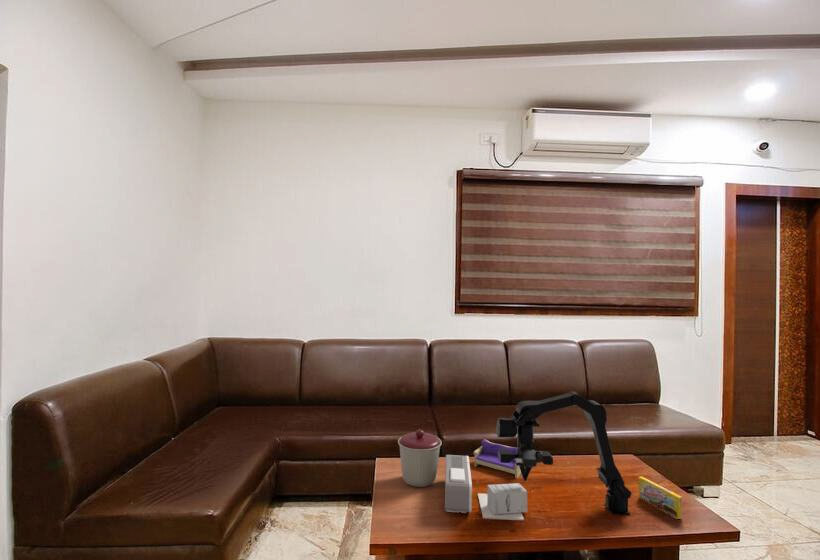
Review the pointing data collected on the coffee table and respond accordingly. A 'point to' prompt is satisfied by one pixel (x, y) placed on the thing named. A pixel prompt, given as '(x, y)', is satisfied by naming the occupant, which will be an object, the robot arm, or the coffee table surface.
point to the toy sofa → (495, 457)
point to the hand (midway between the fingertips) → (524, 480)
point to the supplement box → (506, 498)
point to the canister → (419, 457)
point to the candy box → (660, 497)
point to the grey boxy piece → (458, 484)
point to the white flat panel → (490, 515)
